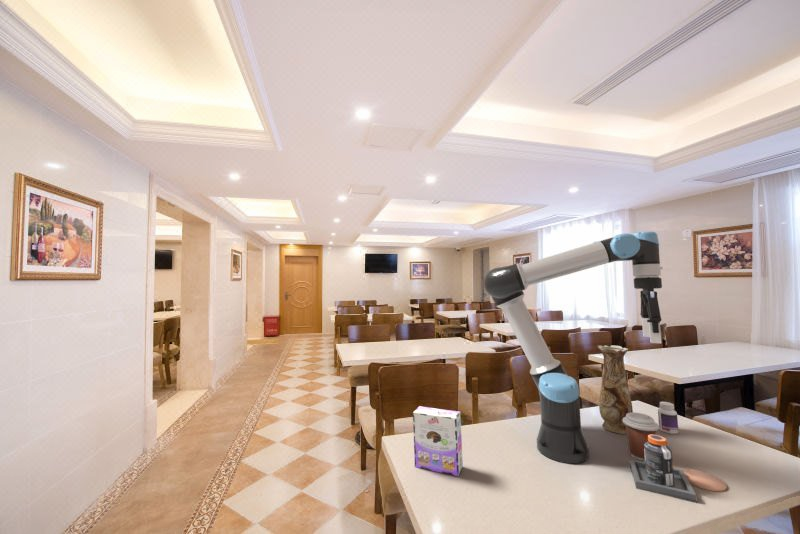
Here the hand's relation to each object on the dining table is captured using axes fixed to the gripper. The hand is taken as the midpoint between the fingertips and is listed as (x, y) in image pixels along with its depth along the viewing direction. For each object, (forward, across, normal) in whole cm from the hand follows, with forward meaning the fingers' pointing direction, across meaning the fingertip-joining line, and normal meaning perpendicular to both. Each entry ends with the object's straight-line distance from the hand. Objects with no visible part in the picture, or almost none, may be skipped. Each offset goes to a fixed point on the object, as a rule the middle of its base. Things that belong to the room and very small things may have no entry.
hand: (651, 339), depth 106 cm
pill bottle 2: (+34, -24, +4) cm, 42 cm away
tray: (+35, -24, +4) cm, 42 cm away
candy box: (+35, -45, +60) cm, 83 cm away
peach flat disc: (+35, -18, -6) cm, 40 cm away
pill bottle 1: (+35, +15, -5) cm, 38 cm away
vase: (+35, +9, +11) cm, 38 cm away
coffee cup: (+35, -10, +6) cm, 37 cm away
